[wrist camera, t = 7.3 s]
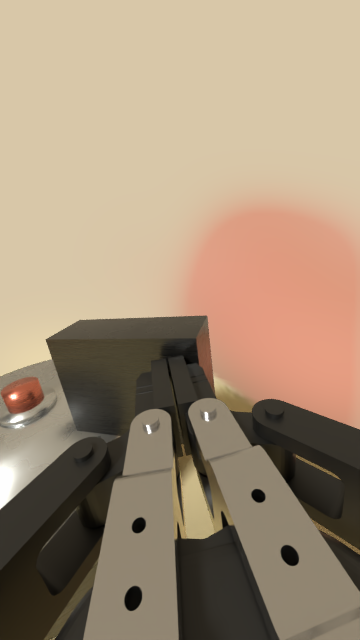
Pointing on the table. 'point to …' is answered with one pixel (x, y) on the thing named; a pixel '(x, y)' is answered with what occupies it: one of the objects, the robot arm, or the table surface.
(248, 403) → the table surface
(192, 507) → the table surface
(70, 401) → the lid
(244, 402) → the table surface
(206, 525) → the table surface
